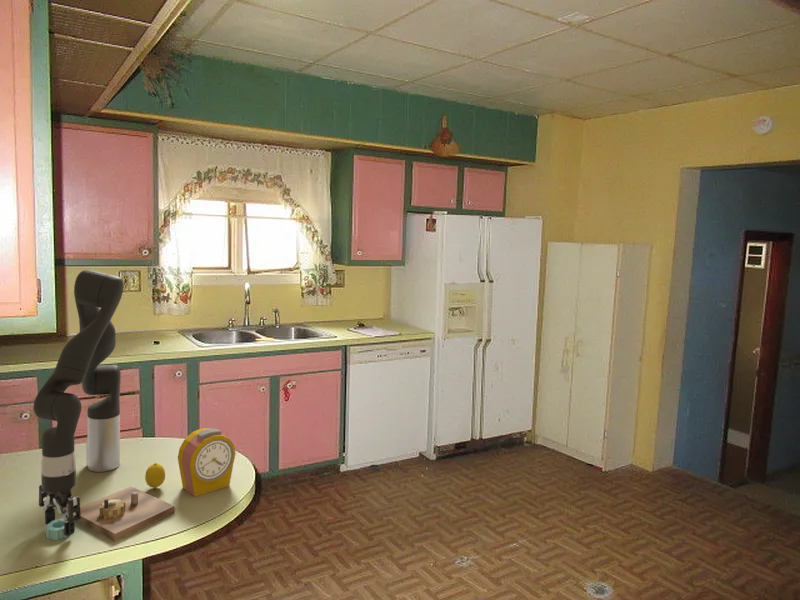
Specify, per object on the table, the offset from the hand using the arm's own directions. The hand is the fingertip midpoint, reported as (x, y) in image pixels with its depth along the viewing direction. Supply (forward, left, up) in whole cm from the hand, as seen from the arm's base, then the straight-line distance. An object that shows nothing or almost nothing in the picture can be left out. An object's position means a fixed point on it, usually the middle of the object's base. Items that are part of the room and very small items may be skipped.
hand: (59, 529), depth 151 cm
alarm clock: (+9, +40, -1) cm, 41 cm away
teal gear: (0, 0, -1) cm, 1 cm away
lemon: (-2, +30, -1) cm, 30 cm away
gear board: (+4, +15, -1) cm, 16 cm away
